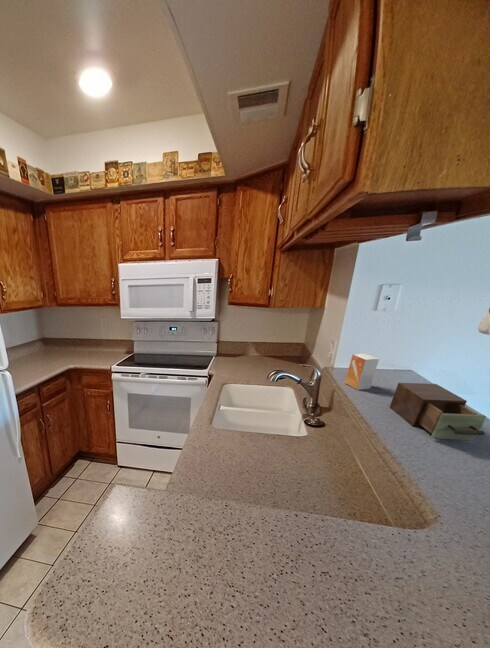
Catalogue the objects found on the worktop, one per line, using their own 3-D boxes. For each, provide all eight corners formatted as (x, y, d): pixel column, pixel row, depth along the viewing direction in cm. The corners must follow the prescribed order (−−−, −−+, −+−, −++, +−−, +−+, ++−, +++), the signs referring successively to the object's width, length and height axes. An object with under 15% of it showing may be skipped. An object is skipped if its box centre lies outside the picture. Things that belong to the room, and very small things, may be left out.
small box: (344, 383, 143) (352, 354, 137) (357, 382, 144) (365, 353, 138) (356, 390, 136) (365, 359, 130) (370, 389, 137) (379, 358, 131)
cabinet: (454, 428, 106) (467, 400, 101) (412, 426, 107) (423, 399, 103) (426, 408, 120) (436, 383, 115) (389, 407, 121) (398, 382, 116)
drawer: (485, 447, 93) (498, 423, 90) (442, 445, 94) (454, 421, 91) (443, 419, 110) (453, 397, 106) (407, 417, 111) (415, 396, 107)
